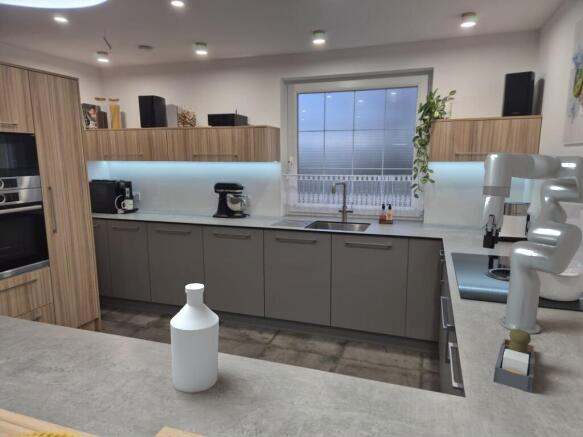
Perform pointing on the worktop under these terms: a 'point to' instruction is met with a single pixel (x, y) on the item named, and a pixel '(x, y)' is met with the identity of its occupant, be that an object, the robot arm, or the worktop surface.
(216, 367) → the bottle
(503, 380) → the grey divided tray
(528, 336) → the cork
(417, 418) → the worktop surface
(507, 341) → the wooden square frame
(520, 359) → the white block
